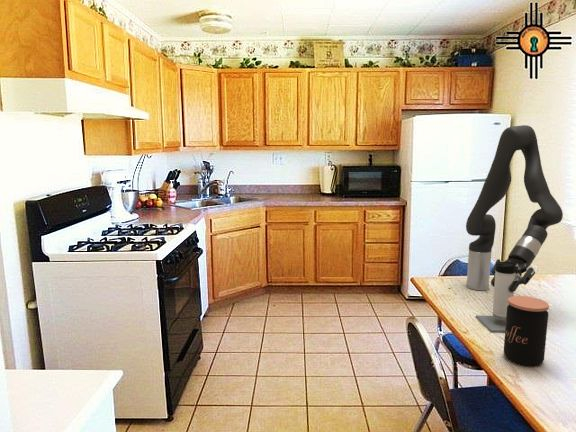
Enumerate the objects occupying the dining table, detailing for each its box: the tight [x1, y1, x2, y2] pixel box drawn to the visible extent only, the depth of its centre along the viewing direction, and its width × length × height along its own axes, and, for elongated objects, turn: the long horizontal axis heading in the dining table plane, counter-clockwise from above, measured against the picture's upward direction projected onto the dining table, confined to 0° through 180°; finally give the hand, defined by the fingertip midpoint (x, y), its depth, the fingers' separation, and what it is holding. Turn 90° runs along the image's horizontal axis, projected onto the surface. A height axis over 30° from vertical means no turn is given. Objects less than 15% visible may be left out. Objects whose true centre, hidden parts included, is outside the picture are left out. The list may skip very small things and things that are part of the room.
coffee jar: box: [503, 295, 550, 368], centre depth 127 cm, size 11×11×18 cm
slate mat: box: [475, 315, 506, 334], centre depth 153 cm, size 13×13×1 cm
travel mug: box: [492, 262, 517, 320], centre depth 151 cm, size 6×7×20 cm
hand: (501, 288), depth 150 cm, fingers closed on travel mug, 6 cm apart
